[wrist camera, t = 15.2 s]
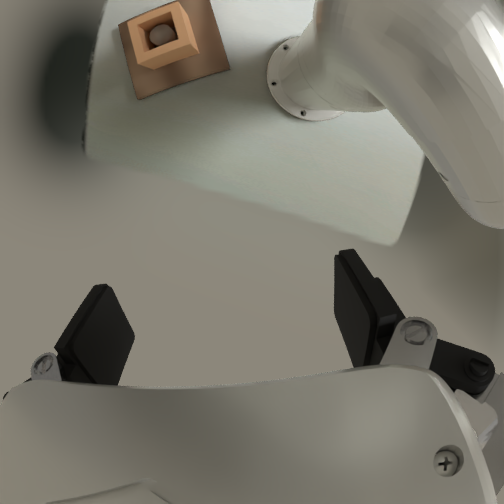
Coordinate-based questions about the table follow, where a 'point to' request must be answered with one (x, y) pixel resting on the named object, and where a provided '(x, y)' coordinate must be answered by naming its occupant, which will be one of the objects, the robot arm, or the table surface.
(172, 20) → the orange hollow cube
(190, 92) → the table surface
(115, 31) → the table surface
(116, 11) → the table surface
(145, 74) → the post board
